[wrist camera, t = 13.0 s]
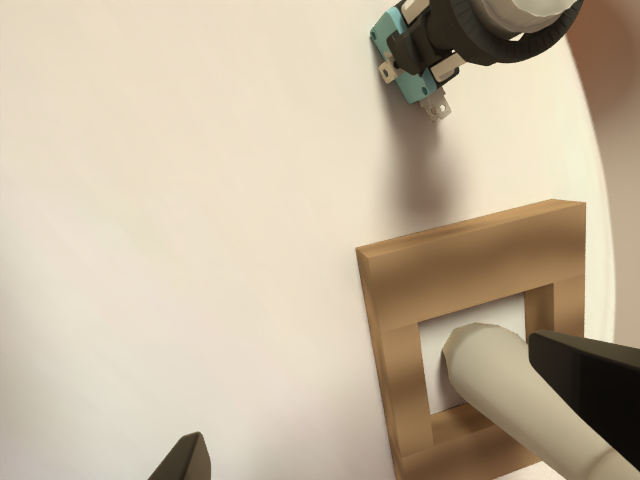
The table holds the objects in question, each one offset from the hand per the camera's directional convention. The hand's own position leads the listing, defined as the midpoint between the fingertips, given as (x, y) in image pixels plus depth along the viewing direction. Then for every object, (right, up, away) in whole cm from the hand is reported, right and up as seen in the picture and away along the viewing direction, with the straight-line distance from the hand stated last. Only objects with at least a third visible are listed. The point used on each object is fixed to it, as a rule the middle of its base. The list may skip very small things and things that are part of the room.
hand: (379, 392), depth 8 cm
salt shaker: (+10, -4, +16) cm, 19 cm away
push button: (+4, +14, +11) cm, 18 cm away
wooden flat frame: (+10, -4, +16) cm, 19 cm away
